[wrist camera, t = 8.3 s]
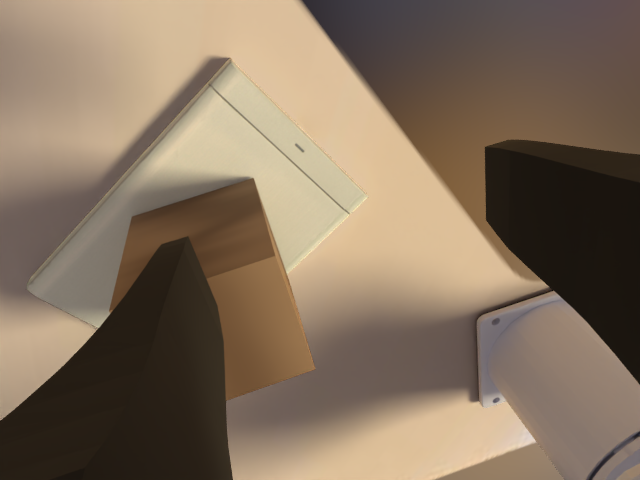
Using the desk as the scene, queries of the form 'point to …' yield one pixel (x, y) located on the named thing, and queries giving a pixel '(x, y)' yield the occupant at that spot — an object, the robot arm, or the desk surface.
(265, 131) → the hard drive
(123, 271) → the walnut block
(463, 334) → the desk surface
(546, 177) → the robot arm
